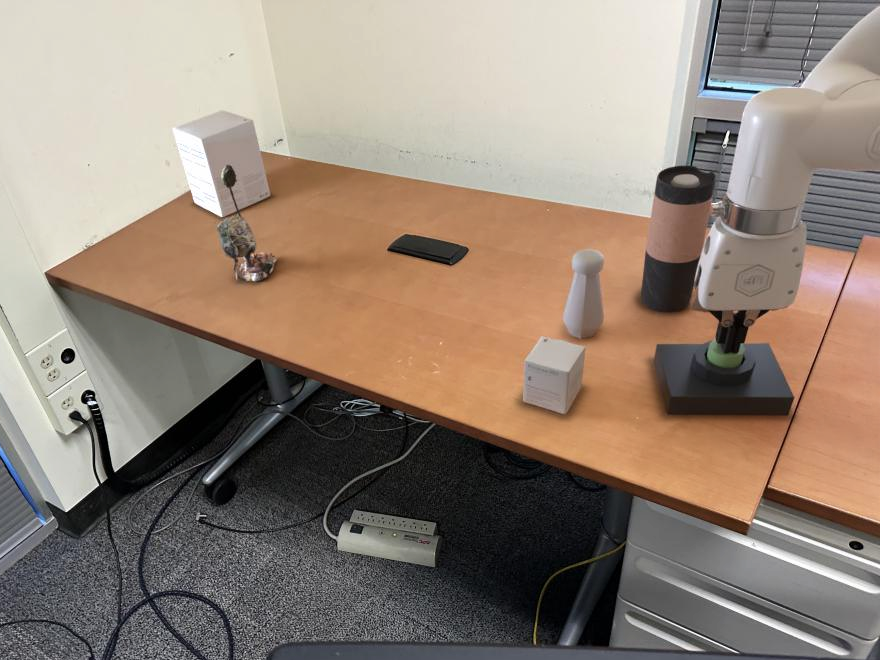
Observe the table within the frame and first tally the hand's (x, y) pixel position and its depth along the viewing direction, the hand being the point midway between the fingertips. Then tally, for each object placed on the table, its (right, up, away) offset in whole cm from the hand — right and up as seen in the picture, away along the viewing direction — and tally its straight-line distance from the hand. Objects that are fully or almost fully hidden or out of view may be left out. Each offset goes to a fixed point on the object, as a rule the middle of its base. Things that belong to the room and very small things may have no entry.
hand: (728, 346), depth 86 cm
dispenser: (+1, -5, +4) cm, 7 cm away
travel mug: (+1, +8, +21) cm, 22 cm away
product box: (-20, -6, +7) cm, 22 cm away
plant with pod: (-67, +16, +44) cm, 81 cm away
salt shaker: (-13, +3, +17) cm, 22 cm away
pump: (0, -2, +1) cm, 2 cm away
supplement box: (-76, +37, +72) cm, 111 cm away
